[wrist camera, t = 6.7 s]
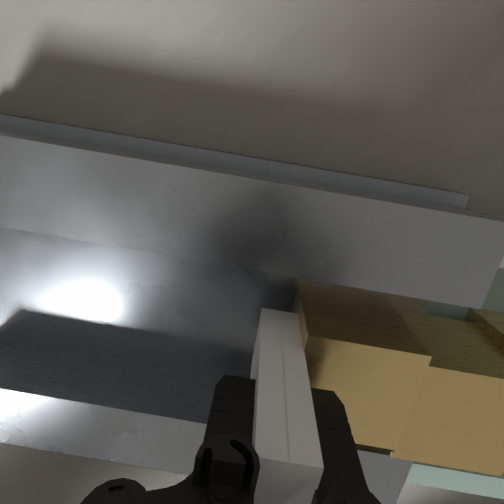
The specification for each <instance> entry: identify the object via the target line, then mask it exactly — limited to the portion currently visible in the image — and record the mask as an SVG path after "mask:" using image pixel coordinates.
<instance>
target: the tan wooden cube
mask: <svg viewBox="0 0 504 504" xmlns="http://www.w3.org/2000/svg"><path fill="white" fill-rule="evenodd" d="M292 313H297V314H298V319H299V325H300V331H301V337H302V343H303V349H304V353H305V359H306V365H307V371H308V376H309V382H310V387H311V388H317V389H324V390H330V391H334V392H335V393H336V395H337V396H338V397H339V399H340V400H341V402H342V403H343V404H344V407H345V410H346V414H347V417H348V422H349V424H350V428H351V431H352V433H351V434H352V435H353V438H354V442H355V443H356V444H362V445H368V446H373V447H379V448H385V449H391V450H395V448H396V446H397V443H398V441H399V438H400V436H401V433H402V431H403V428H404V426H405V423H406V421H407V418H408V416H409V413H410V411H411V408H412V405H413V403H414V400H415V398H416V395H417V393H418V390H419V388H420V385H421V383H422V380H423V378H424V376H425V373H426V371H427V368H428V366H429V363H430V361H431V358H432V356H431V354H430V353H429V352H428V351H427V349H426V348H425V347H424V345H423V344H422V343H421V342H420V340H419V339H418V338H417V337H416V335H415V334H414V333H413V331H412V330H411V329H410V328H409V326H408V325H407V324H406V322H405V321H404V320H403V319H402V317H401V316H400V315H399V313H398V312H397V311H396V310H395V308H394V307H393V306H392V304H391V303H390V302H389V301H388V300H385V299H379V298H373V297H367V296H361V295H355V294H350V293H344V292H338V291H332V290H326V289H320V288H314V287H309V286H303V285H298V286H297V290H296V295H295V299H294V304H293V308H292Z"/></svg>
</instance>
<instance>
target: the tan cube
mask: <svg viewBox="0 0 504 504" xmlns="http://www.w3.org/2000/svg"><path fill="white" fill-rule="evenodd" d="M395 310H396V311H397V312H398V313H399V315H400V316H401V317H402V319H403V320H404V321H405V322H406V324H407V325H408V326H409V328H410V329H411V330H412V331H413V333H414V334H415V335H416V337H417V338H418V339H419V340H420V342H421V343H422V344H423V345H424V347H425V348H426V349H427V351H428V352H429V353H430V354H431V356H432V358H431V361H430V363H429V366H428V368H427V371H426V373H425V376H424V378H423V380H422V383H421V385H420V388H419V390H418V393H417V395H416V398H415V400H414V403H413V405H412V408H411V411H410V413H409V416H408V418H407V421H406V423H405V426H404V428H403V431H402V433H401V436H400V438H399V441H398V443H397V446H396V448H395V450H391V449H388V450H389V452H390V455H391V457H392V458H398V459H404V460H410V461H415V462H421V463H427V464H433V465H439V466H444V467H450V468H456V469H462V470H468V471H474V472H479V473H485V474H491V475H497V476H501V475H502V473H503V472H504V346H502V345H501V344H500V343H499V342H498V341H497V340H495V339H494V338H493V337H492V336H491V335H490V334H488V333H487V332H486V331H485V330H484V329H483V328H481V327H480V326H479V325H478V324H477V323H475V322H470V321H464V320H458V319H452V318H446V317H440V316H435V315H429V314H423V313H417V312H411V311H405V310H399V309H395Z"/></svg>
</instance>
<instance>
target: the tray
mask: <svg viewBox="0 0 504 504" xmlns="http://www.w3.org/2000/svg"><path fill="white" fill-rule="evenodd" d="M481 309H484V310H490V311H496V312H502V313H504V257H503V259H502V261H501V263H500V266H499V268H498V270H497V273H496V275H495V277H494V279H493V282H492V284H491V286H490V289H489V291H488V293H487V296H486V298H485V300H484V302H483V305H482V307H481ZM468 310H469V307H465V306H459V305H453V304H447V303H441V302H436V301H430V304H429V306H428V309H427V311H426V314H429V315H435V316H440V317H446V318H452V319H458V320H464V319H465V317H466V314H467V312H468ZM405 482H406V483H411V484H417V485H423V486H429V487H435V488H440V489H446V490H452V491H458V492H464V493H469V494H475V495H481V496H487V497H493V498H498V499H504V472H503V473H502V475H501V476H497V475H491V474H485V473H479V472H474V471H468V470H462V469H456V468H450V467H444V466H439V465H433V464H427V463H421V462H415V461H414V462H413V465H412V467H411V469H410V472H409V474H408V476H407V478H406V481H405Z"/></svg>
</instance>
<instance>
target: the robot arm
mask: <svg viewBox="0 0 504 504" xmlns="http://www.w3.org/2000/svg"><path fill="white" fill-rule="evenodd" d="M351 433H352V431H351V428H350V424H349V422H348V417H347V414H346V410H345V407H344V404H343V403H342V402H341V400H340V399H339V397H338V396H337V395H336V393H335V392H334V391H330V390H324V389H317V388H311V387H310V382H309V376H308V371H307V365H306V359H305V353H304V349H303V343H302V337H301V331H300V325H299V319H298V314H297V313H291V312H285V311H279V310H273V309H267V308H262V310H261V315H260V320H259V326H258V331H257V336H256V342H255V347H254V353H253V358H252V363H251V375H250V378H244V377H238V376H232V375H226V374H225V375H224V376H223V377H222V378H221V379H220V381H219V382H218V383H217V384H216V386H215V391H214V395H213V400H212V404H211V409H210V413H209V417H208V422H207V426H206V431H205V435H204V440H203V444H202V445H200V447H199V450H198V452H197V454H196V456H195V462H194V470H193V472H192V473H191V474H190V475H189V476H188V477H187V478H186V479H185V480H183V481H181V482H180V483H178V484H176V485H174V486H170V487H167V488H163V489H157V490H152V491H146V490H145V488H144V487H143V486H142V485H140V484H139V483H138V482H137V481H135V480H130V479H126V478H120V479H114V480H109V481H107V482H105V483H104V484H102V485H100V486H98V487H96V488H95V489H94V490H93V491H92V492H91V493H90V494H89V495H88V496H87V497H86V498H85V499H84V500H83V501H82V502H81V504H381V503H380V502H379V500H378V499H377V498H376V497H375V496H374V494H373V493H371V492H370V491H369V489H368V486H367V483H366V480H365V477H364V473H363V470H362V466H361V463H360V459H359V456H358V452H357V449H356V445H355V442H354V438H353V435H352V434H351Z"/></svg>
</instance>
